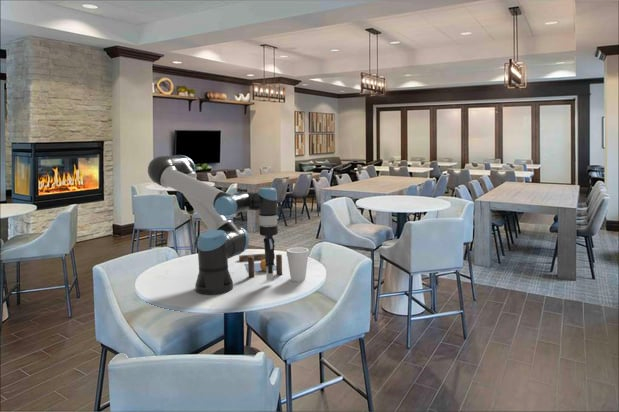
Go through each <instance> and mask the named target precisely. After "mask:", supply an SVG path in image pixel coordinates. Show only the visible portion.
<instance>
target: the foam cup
mask: <svg viewBox="0 0 619 412" xmlns="http://www.w3.org/2000/svg"><path fill="white" fill-rule="evenodd" d="M309 252H310V251H309V249H308V248H307V247H290V248H287V249H286V257H287V261H288V269H289V276H290V280H291V281H292V282H303V281H305V280H306V277H307V268H308V261H309Z"/></svg>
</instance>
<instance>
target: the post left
mask: <svg viewBox="0 0 619 412" xmlns="http://www.w3.org/2000/svg"><path fill="white" fill-rule="evenodd" d="M254 263H255V260H254V257H253V256H250V257H248V261H247V264H248V271H247V273H248V278H251V279H253V278H255V272H254Z"/></svg>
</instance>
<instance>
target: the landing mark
mask: <svg viewBox="0 0 619 412" xmlns="http://www.w3.org/2000/svg"><path fill="white" fill-rule="evenodd" d="M244 266H245V268H246V270H247V272H248V263H245V264H244ZM273 271H276V263H274V265H273ZM256 272H257V273H259V272H260V273H261V272H265V271H264V270H262V269H261V268H260V262H257V263H256V262H254V273H256Z"/></svg>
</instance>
